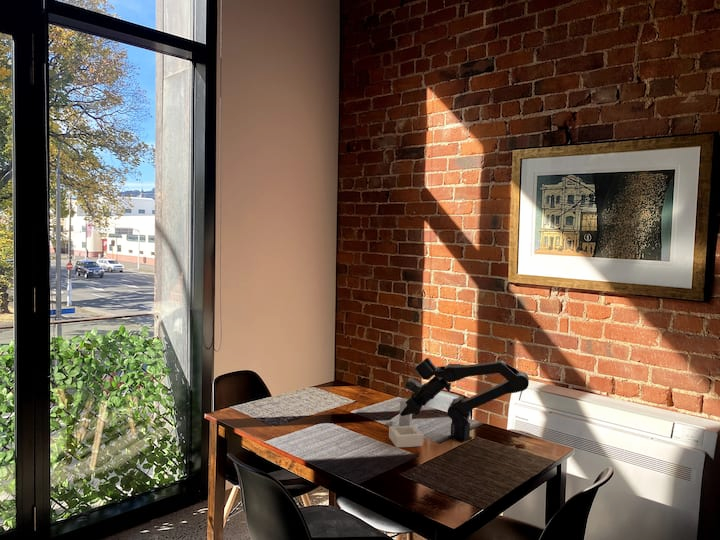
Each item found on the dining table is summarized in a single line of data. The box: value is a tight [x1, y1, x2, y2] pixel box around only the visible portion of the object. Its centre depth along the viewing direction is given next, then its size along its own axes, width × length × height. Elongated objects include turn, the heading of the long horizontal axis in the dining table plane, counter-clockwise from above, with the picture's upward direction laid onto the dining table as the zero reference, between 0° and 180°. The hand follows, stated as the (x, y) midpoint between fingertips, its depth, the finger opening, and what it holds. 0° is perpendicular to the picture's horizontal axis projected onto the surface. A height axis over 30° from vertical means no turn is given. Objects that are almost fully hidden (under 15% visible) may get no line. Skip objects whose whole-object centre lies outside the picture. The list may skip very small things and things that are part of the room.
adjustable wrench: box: [386, 413, 400, 427], centre depth 241 cm, size 25×6×2 cm, turn 147°
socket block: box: [388, 425, 425, 448], centre depth 214 cm, size 10×10×4 cm
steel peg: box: [398, 397, 413, 426], centre depth 225 cm, size 4×4×12 cm
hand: (402, 413), depth 225 cm, fingers closed on steel peg, 4 cm apart
